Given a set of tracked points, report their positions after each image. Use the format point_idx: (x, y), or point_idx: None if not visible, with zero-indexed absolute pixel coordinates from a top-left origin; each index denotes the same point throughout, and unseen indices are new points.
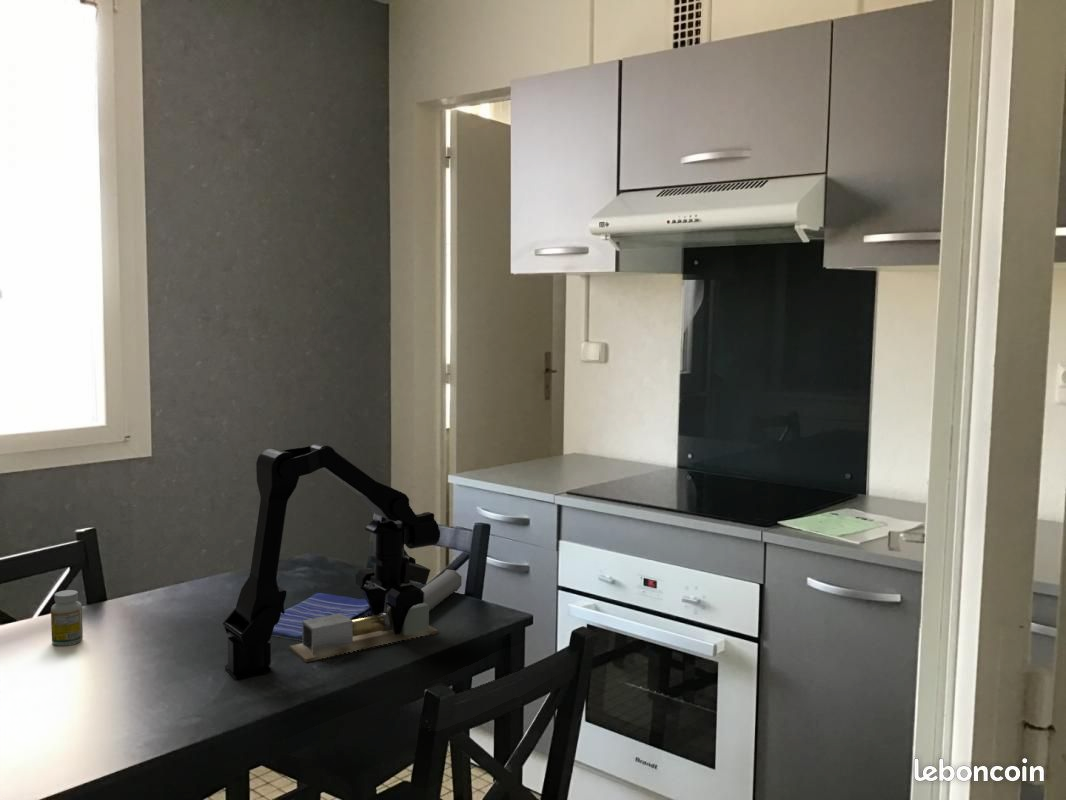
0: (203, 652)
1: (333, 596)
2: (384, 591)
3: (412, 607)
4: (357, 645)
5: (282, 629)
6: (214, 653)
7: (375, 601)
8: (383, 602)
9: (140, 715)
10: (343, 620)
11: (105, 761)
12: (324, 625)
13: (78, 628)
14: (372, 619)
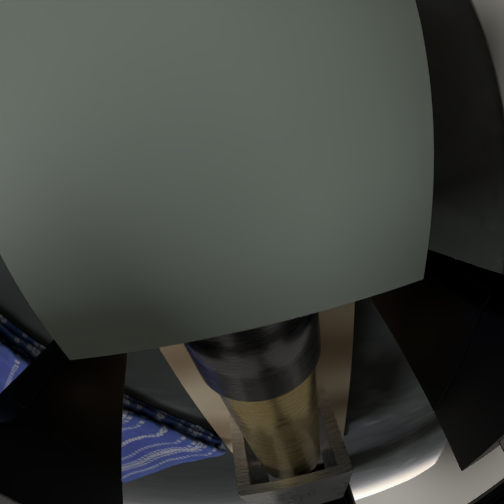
0: (211, 498)
1: None
2: (12, 461)
3: (398, 156)
4: (328, 377)
5: (129, 466)
6: (220, 495)
7: (94, 442)
8: (58, 386)
9: (367, 484)
10: (329, 483)
11: (421, 467)
12: (339, 493)
13: None
14: (304, 415)
